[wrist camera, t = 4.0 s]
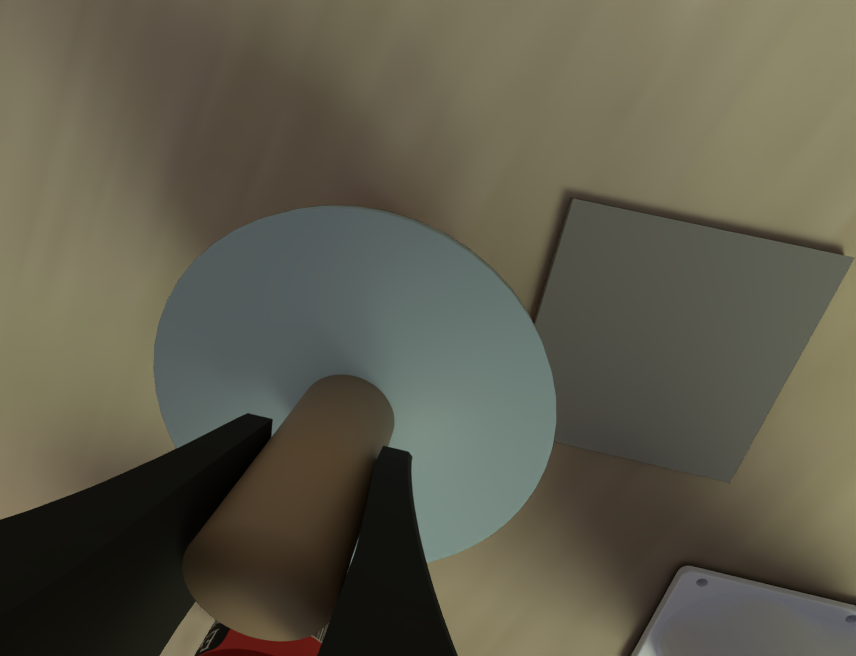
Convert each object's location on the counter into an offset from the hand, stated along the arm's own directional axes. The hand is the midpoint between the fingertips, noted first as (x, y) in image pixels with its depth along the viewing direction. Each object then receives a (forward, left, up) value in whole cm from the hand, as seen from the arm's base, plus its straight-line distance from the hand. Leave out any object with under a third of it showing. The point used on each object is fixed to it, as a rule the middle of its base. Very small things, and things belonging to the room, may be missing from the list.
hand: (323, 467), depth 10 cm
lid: (0, 0, -2) cm, 2 cm away
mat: (-11, -2, -9) cm, 14 cm away
